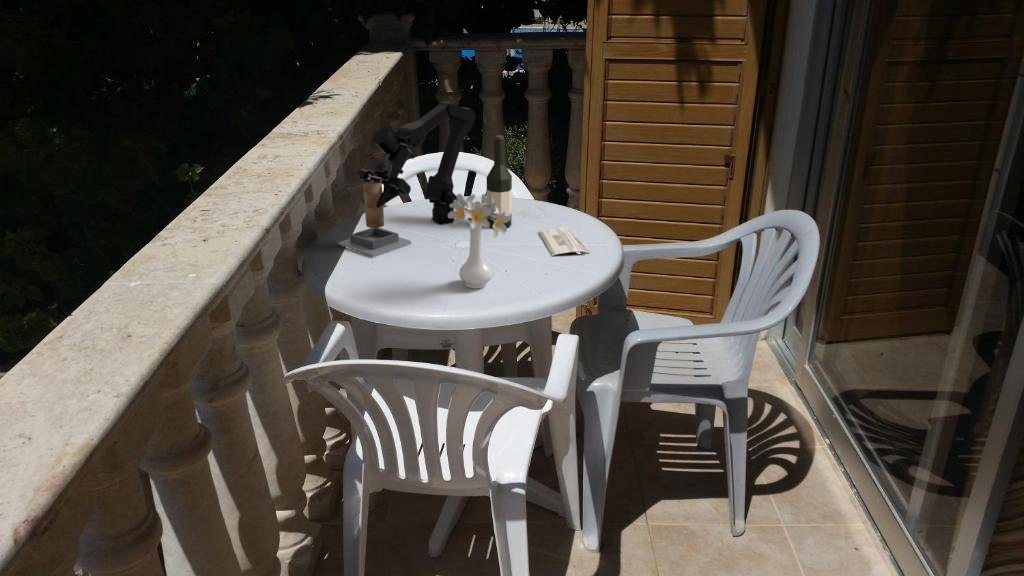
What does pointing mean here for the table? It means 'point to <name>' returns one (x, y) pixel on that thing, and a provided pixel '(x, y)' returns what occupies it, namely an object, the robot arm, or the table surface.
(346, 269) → the table surface
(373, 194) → the peg
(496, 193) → the wine bottle
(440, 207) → the robot arm
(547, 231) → the newspaper
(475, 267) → the flower vase
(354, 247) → the collar
